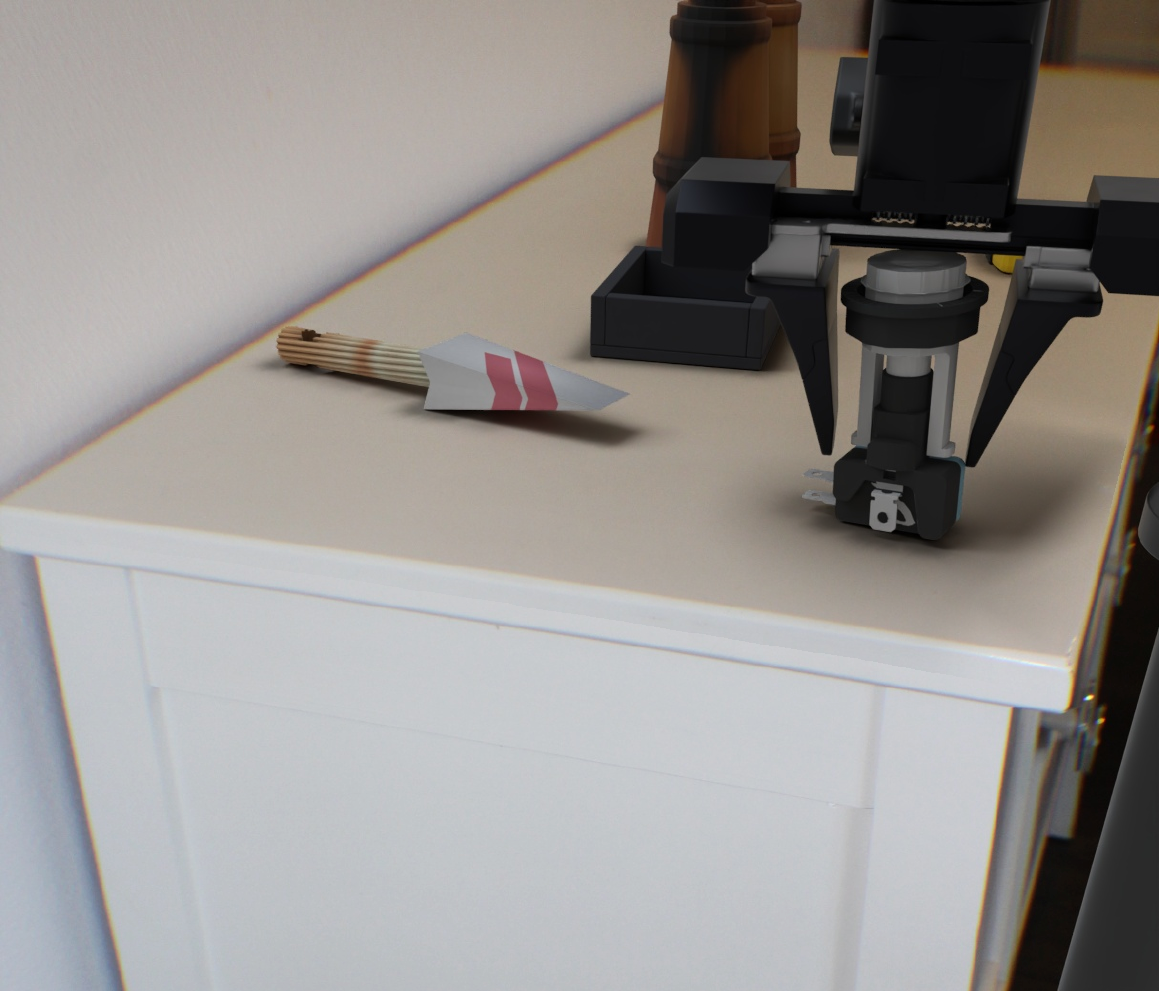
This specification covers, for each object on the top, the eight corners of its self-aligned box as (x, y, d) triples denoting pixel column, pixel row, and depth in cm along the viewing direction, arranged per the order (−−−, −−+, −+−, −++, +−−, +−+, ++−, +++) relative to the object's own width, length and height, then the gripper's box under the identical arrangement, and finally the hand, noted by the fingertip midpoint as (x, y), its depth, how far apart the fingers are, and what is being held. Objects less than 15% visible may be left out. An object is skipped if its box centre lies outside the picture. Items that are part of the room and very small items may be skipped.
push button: (778, 529, 58) (784, 269, 52) (831, 484, 61) (843, 236, 56) (936, 557, 55) (962, 284, 49) (982, 508, 58) (1012, 248, 52)
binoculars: (755, 270, 90) (785, -113, 78) (630, 259, 92) (641, -117, 80) (807, 210, 104) (839, -123, 93) (697, 201, 106) (715, -126, 94)
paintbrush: (590, 380, 62) (258, 325, 72) (591, 442, 64) (267, 380, 73) (637, 358, 65) (311, 307, 74) (637, 418, 67) (318, 361, 76)
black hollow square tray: (786, 313, 83) (791, 256, 81) (760, 370, 74) (765, 308, 72) (632, 301, 84) (634, 245, 82) (589, 356, 76) (590, 295, 74)
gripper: (1229, -17, 52) (1130, 411, 61) (720, -28, 55) (699, 379, 64) (1275, 13, 43) (1152, 508, 52) (667, -2, 47) (652, 465, 56)
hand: (898, 458), depth 56 cm, fingers closed on push button, 5 cm apart
